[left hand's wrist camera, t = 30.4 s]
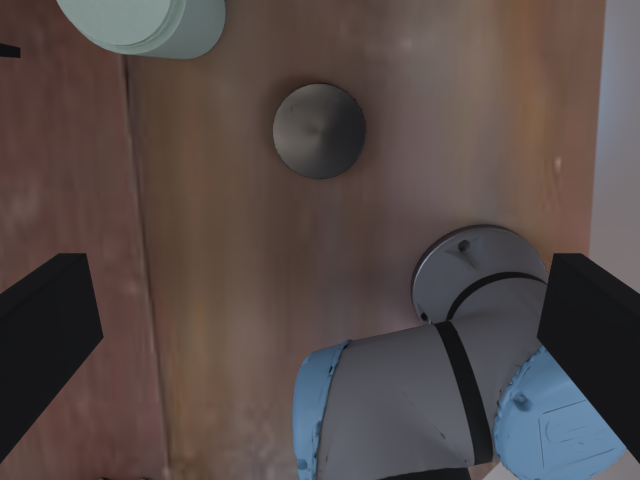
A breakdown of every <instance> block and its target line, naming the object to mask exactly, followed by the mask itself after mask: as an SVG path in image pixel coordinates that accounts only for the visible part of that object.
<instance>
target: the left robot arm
mask: <svg viewBox="0 0 640 480" xmlns="http://www.w3.org/2000/svg"><path fill="white" fill-rule="evenodd" d="M411 299H412V303H413V306H414V309H415V311H416V314H417V316H418V318H419V320H420V321H421V323H422V324H423V326H419V327H415V328H410V329H406V330H401V331H397V332H392V333H388V334H383V335H378V336H373V337H368V338H363V339H359V340H354V341H353V340H346V341H344V342H343V343H342V344H339V345H336V346H332V347H328V348H325V349H321V350H318V351H315V352H313V353H311V354H310V355H308V356H307V357H306V359H305V360H304V361H303V363H302V365H301V367H300V370H299V372H298V375H297V378H296V383H295V389H294V398H293V444H294V452H295V456H296V457H297V470H298V475H299V479H300V480H471V478H470V475H469V471H468V467H469V466H472V465H478V464H483V463H488V462H494V461H499V460H500V461H501V462H502V464H503V466H504V467H506V469H508V470H509V471H510V472H511V473H512V474H513V475H514V476H515V477H517V478H518V479H520V480H587V479H590V478H592V477H594V476H596V475H598V474H599V473H601V472H602V471H604V470H606V469H607V468H608V467H610V466H611V465H612V464H613V463H614V462H616V461H617V460H618V459H619V458H620V457H621V456H622V454H623V452H624V451H625V450H626V449H628V450H629V451H630V453H631V454H632V455H633V456H634V457H635V459H636V460H637V461H638V462H639V464H640V294H639V293H637V292H636V291H635V290H633V289H632V288H630V287H629V286H627V285H626V284H624V283H623V282H622V281H620V280H619V279H617V278H616V277H614V276H613V275H612V274H610V273H609V272H607V271H606V270H604V269H603V268H601V267H600V266H598V265H597V264H596V263H594V262H593V261H591V260H590V259H588V258H587V257H586V256H584V255H583V254H581V253H554V255H553V260H552V265H551V270H550V275H549V279H548V277H547V273H546V269H545V266H544V263H543V261H542V260H541V258H540V256H539V255H538V253H537V252H536V250H535V249H534V248H533V247H532V246H531V245H530V244H529V243H528V242H527V241H525V240H524V239H523V238H522V237H520V236H519V235H518V234H516V233H514V232H512V231H510V230H508V229H505V228H502V227H498V226H492V225H474V226H468V227H464V228H461V229H458V230H455V231H453V232H451V233H449V234H447V235H445V236H443V237H442V238H440V239H439V240H437V241H436V242H435V243H434V244H433V245H431V246H430V247H429V248H428V249H427V251H426V252H425V253H424V254H423V256H422V257H421V258H420V260H419V262H418V264H417V265H416V268H415V270H414V273H413V276H412V281H411ZM102 339H103V332H102V327H101V323H100V318H99V313H98V308H97V303H96V299H95V294H94V289H93V284H92V279H91V275H90V270H89V265H88V260H87V255H86V253H59V254H57V255H56V256H54V257H53V258H52V259H50V260H49V261H47V262H46V263H44V264H43V265H41V266H40V267H39V268H37V269H36V270H34V271H33V272H31V273H30V274H28V275H27V276H26V277H24V278H23V279H21V280H20V281H18V282H17V283H15V284H14V285H13V286H11V287H10V288H8V289H7V290H5V291H4V292H3V293H1V294H0V464H1V462H2V461H3V460H4V459H5V457H6V456H7V455H8V454H9V453H10V451H11V450H12V449H13V448H14V446H15V445H16V444H17V443H18V442H19V440H20V439H21V438H22V437H23V435H24V434H25V433H26V432H27V430H28V429H29V428H30V427H31V426H32V424H33V423H34V422H35V421H36V419H37V418H38V417H39V416H40V415H41V413H42V412H43V411H44V410H45V408H46V407H47V406H48V405H49V404H50V402H51V401H52V400H53V399H54V397H55V396H56V395H57V394H58V393H59V391H60V390H61V389H62V388H63V386H64V385H65V384H66V383H67V381H68V380H69V379H70V378H71V377H72V375H73V374H74V373H75V372H76V370H77V369H78V368H79V367H80V366H81V364H82V363H83V362H84V361H85V359H86V358H87V357H88V356H89V355H90V353H91V352H92V351H93V350H94V348H95V347H96V346H97V345H98V344H99V342H100V341H101V340H102Z"/></svg>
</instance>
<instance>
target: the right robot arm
mask: <svg viewBox="0 0 640 480" xmlns="http://www.w3.org/2000/svg"><path fill="white" fill-rule="evenodd" d="M0 56H1V57H16V58H20V48H19V47H14V46H10V45H6V44H1V43H0Z"/></svg>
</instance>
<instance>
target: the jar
mask: <svg viewBox="0 0 640 480" xmlns="http://www.w3.org/2000/svg"><path fill="white" fill-rule="evenodd" d="M57 2H58V4H59V6H60V8H61V9H62V11H63V12H64V14H65V15H66V16H67V18H68V19H69V20H70V21H71V22H72V23H73V24H74V25H75V27H76V28H77V29H78V30H79V31H80V32H81V33H82V34H83V35H84V36H85V37H87V38H88V39H89V40H90V41H92V42H93V43H95V44H96V45H98V46H100V47H102V48H104V49H106V50H109V51H112V52H115V53H120V54H128V55H139V56H149V57H160V58H171V59H192V58H196V57H199V56H201V55H203V54H205V53H206V52H208V51H209V50H210V49H211V48H212V47H213V46H214V45H215V44H216V43H217V41H218V40H219V38H220V36H221V34H222V31H223V28H224V24H225V16H226V9H225V1H224V0H57Z"/></svg>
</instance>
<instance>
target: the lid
mask: <svg viewBox="0 0 640 480" xmlns="http://www.w3.org/2000/svg"><path fill="white" fill-rule="evenodd" d="M272 133H273V140H274V144H275V148H276V150H277V152H278V155H279V156H280V158H281V159H282V161H283V162H284V163H285V164H286V165H287V166H288V167H289V168H290V169H291V170H293V171H294V172H296V173H298V174H299V175H302V176H304V177H308V178H313V179H326V178H331V177H334V176H337V175H339V174H341V173H343V172H344V171H346V170H347V169H348V168H350V167H351V166H352V165H353V164H354V163H355V161H356V160H357V159H358V157H359V155H360V154H361V151H362V149H363V146H364V144H365V138H366V125H365V120H364V116H363V114H362V110H361V109H360V107H359V106H358V104H357V103H356V100H355V99H353V98H352V97H351V96H350V95H349V94H348V93H347V92H345V91H343V90H342V89H340V88H338V87H337V86H333V85H330V84H326V83H325V84H323V83H315V84H314V83H313V84H309V85H306V86H302V87H301V88H298V89H297V90H295V91H294V92H293V91H292V93H291V94H290V95H289V96H287V97H286V99H284V100H283V102H282V103H281V105H280V106H279V108H278V109H277V112H276V115H275V118H274V120H273V132H272Z"/></svg>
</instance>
